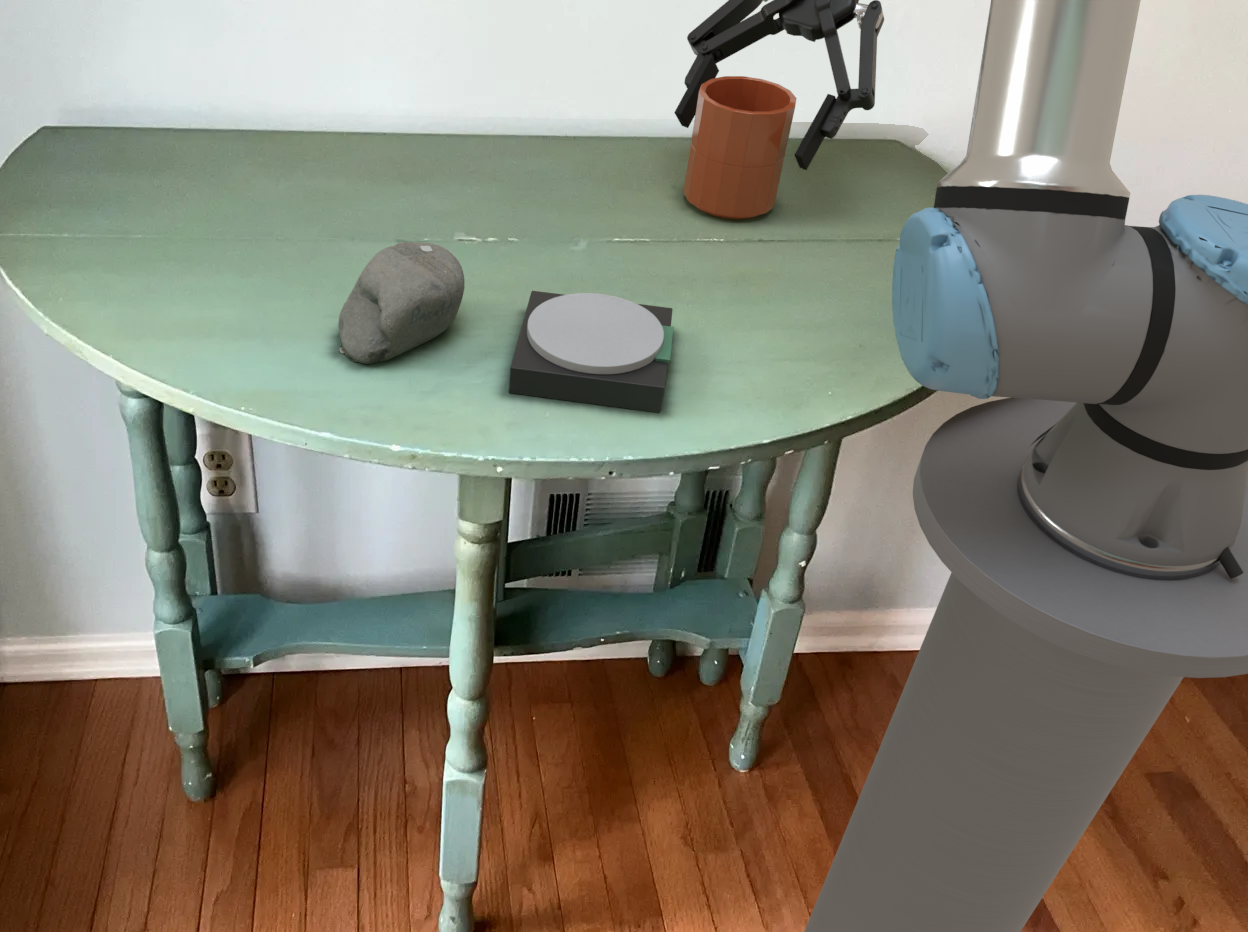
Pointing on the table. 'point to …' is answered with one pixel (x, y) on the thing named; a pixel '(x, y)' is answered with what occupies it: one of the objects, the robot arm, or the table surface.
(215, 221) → the table surface
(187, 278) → the table surface
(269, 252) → the table surface
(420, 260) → the stone
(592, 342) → the scale
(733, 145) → the terracotta flower pot
